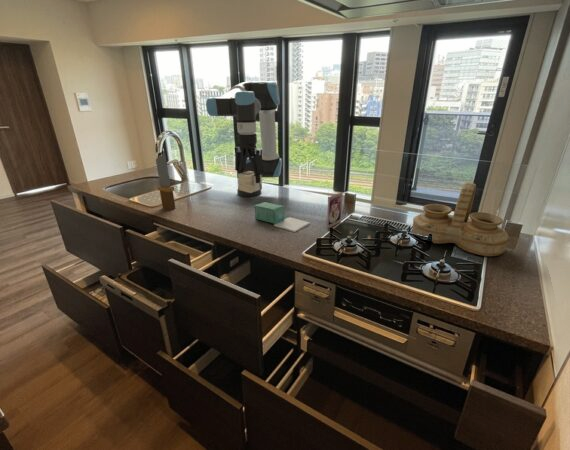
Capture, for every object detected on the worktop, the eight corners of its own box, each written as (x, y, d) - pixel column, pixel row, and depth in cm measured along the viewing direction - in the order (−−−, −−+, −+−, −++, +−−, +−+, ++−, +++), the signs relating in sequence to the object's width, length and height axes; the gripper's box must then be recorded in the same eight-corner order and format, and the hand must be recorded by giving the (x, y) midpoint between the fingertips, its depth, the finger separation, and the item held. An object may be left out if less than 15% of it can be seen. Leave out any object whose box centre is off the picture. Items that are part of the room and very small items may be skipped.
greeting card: (328, 229, 135) (330, 197, 129) (315, 225, 140) (316, 194, 134) (342, 222, 143) (344, 192, 137) (329, 218, 148) (330, 189, 142)
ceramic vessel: (404, 239, 125) (413, 181, 116) (417, 225, 139) (427, 172, 129) (501, 264, 106) (522, 197, 96) (506, 245, 119) (524, 185, 109)
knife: (177, 208, 164) (168, 153, 152) (171, 210, 161) (162, 154, 149) (166, 206, 167) (157, 151, 156) (161, 208, 164) (151, 152, 153)
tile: (289, 218, 148) (289, 217, 148) (309, 224, 141) (309, 222, 141) (274, 226, 139) (274, 224, 139) (294, 232, 132) (294, 230, 132)
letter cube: (250, 186, 133) (249, 170, 130) (262, 189, 129) (261, 173, 126) (238, 190, 128) (237, 174, 125) (250, 192, 124) (249, 176, 121)
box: (275, 224, 139) (274, 209, 136) (255, 219, 147) (253, 205, 144) (285, 220, 144) (284, 205, 141) (265, 215, 152) (264, 201, 150)
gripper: (223, 132, 122) (227, 187, 131) (259, 135, 110) (261, 195, 119) (236, 131, 127) (240, 183, 136) (272, 134, 116) (273, 190, 125)
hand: (250, 188), depth 128 cm, fingers closed on letter cube, 7 cm apart
